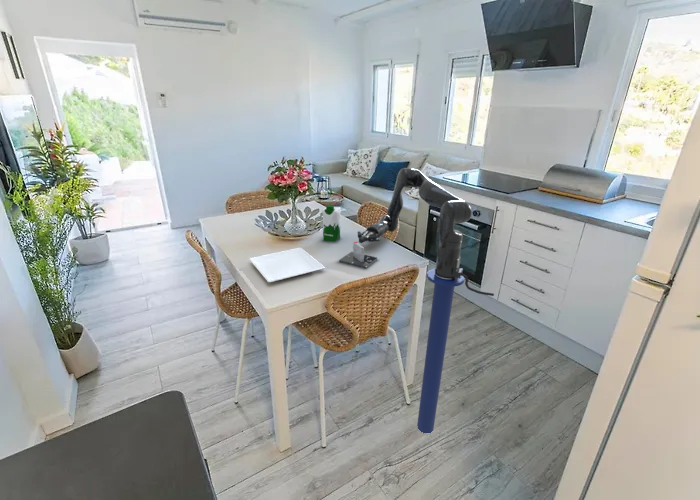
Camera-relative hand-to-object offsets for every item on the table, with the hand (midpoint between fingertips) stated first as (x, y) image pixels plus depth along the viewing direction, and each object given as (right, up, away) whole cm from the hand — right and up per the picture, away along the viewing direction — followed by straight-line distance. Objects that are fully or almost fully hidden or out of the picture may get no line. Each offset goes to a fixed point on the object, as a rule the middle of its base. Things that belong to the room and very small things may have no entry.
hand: (360, 241), depth 169 cm
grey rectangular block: (-1, -8, -5) cm, 10 cm away
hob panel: (-1, -10, -5) cm, 11 cm away
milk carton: (-15, +1, +22) cm, 26 cm away
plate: (-34, -12, -12) cm, 38 cm away
